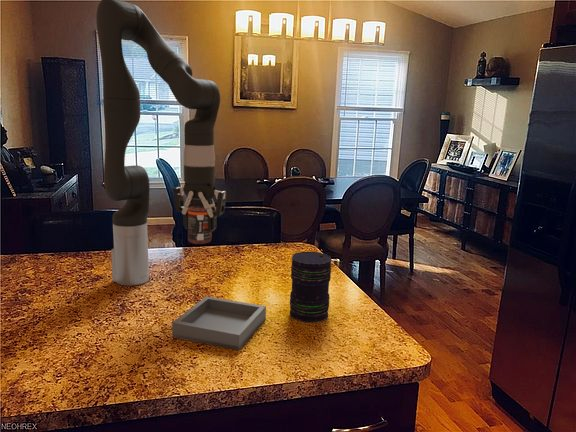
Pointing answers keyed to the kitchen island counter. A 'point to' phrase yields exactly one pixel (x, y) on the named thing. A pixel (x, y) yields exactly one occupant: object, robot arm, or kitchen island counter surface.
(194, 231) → the supplement bottle
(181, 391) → the kitchen island counter surface
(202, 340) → the tray
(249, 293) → the kitchen island counter surface
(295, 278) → the dark cylinder
